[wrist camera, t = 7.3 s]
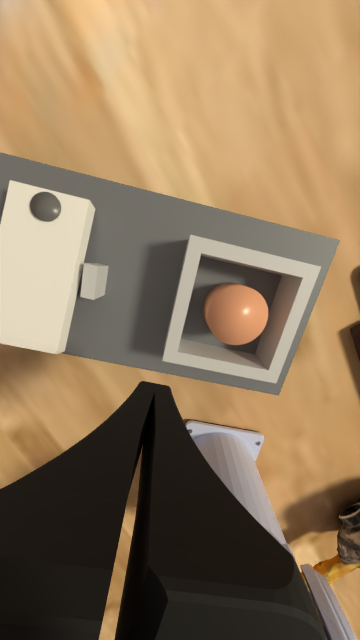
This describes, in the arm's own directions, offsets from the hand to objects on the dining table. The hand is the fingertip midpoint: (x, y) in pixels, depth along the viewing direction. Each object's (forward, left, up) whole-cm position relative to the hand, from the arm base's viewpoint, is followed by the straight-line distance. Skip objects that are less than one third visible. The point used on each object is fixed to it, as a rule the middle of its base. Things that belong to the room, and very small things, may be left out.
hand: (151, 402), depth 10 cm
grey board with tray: (+4, +2, -9) cm, 10 cm away
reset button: (+4, -4, -6) cm, 8 cm away
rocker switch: (+4, +8, -5) cm, 10 cm away
